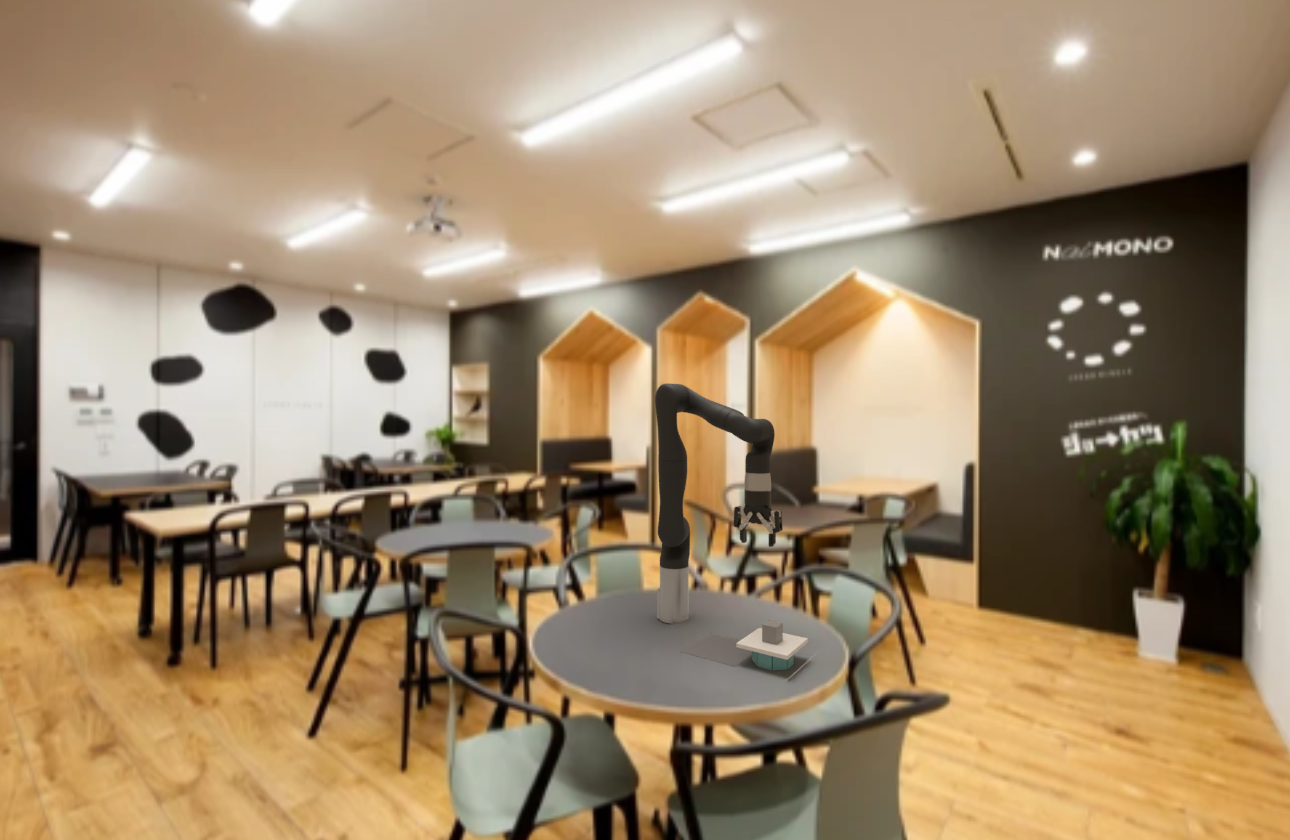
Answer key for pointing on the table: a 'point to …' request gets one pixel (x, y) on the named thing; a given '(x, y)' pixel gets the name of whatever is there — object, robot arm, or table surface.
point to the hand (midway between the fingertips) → (757, 544)
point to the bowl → (771, 661)
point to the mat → (718, 650)
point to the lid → (772, 641)
